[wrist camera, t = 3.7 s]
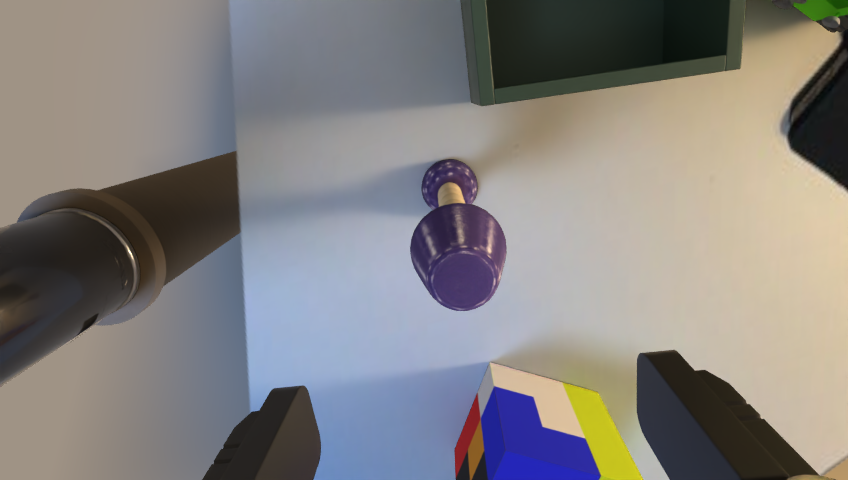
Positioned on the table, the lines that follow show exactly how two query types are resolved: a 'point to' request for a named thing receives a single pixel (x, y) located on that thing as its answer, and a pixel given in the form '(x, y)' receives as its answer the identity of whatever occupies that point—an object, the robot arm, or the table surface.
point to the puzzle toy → (539, 432)
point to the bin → (594, 44)
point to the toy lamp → (457, 240)
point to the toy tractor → (821, 11)
